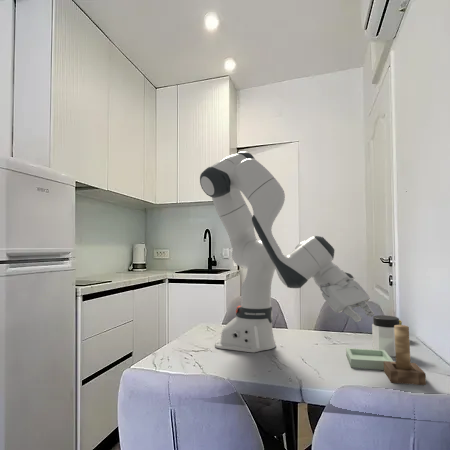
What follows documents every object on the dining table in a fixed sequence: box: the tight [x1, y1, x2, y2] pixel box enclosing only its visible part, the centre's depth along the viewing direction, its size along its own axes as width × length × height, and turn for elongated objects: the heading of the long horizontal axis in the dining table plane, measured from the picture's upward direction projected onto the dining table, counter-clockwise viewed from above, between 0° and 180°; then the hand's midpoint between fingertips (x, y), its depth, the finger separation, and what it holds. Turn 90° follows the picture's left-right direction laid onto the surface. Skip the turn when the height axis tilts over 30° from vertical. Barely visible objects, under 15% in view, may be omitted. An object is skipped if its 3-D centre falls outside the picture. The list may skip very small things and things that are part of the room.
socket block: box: [383, 361, 427, 386], centre depth 95 cm, size 8×8×3 cm
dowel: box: [394, 324, 412, 370], centre depth 95 cm, size 4×4×14 cm
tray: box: [345, 347, 395, 371], centre depth 108 cm, size 12×12×2 cm
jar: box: [371, 314, 400, 358], centre depth 118 cm, size 9×8×12 cm
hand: (366, 318), depth 101 cm, fingers open, 8 cm apart
